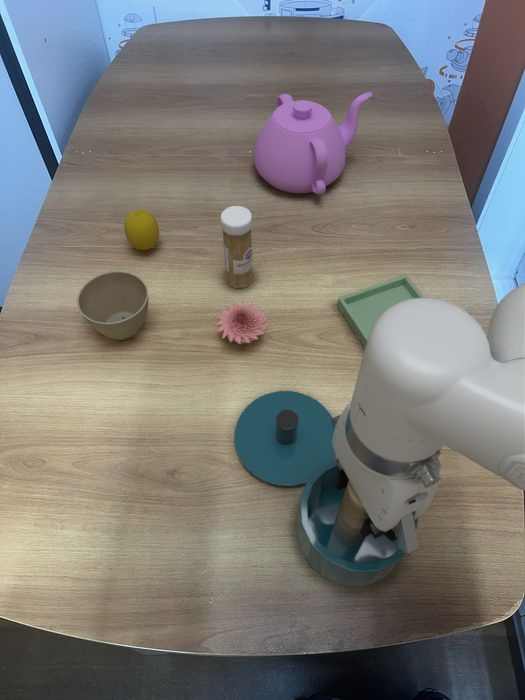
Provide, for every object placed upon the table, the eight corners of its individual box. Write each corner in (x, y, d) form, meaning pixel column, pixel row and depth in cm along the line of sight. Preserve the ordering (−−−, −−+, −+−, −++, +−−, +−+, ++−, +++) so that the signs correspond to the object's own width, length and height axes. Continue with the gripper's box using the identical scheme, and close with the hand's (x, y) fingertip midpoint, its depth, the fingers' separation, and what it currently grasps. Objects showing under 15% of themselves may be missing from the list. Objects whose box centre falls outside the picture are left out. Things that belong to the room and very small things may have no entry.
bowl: (139, 360, 79) (129, 331, 73) (78, 344, 81) (63, 314, 75) (166, 309, 85) (158, 278, 79) (108, 295, 86) (96, 264, 80)
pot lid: (355, 464, 70) (362, 445, 65) (258, 505, 67) (258, 488, 62) (309, 381, 77) (312, 359, 72) (220, 415, 74) (217, 394, 69)
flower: (272, 354, 80) (273, 331, 75) (218, 361, 79) (215, 339, 74) (264, 313, 84) (264, 289, 79) (213, 319, 83) (210, 295, 79)
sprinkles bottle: (247, 292, 86) (245, 229, 75) (221, 285, 87) (215, 221, 76) (257, 272, 89) (256, 208, 78) (231, 265, 90) (227, 201, 79)
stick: (373, 538, 64) (397, 497, 52) (343, 552, 63) (360, 513, 51) (356, 507, 66) (376, 461, 54) (327, 520, 65) (341, 476, 54)
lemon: (152, 263, 90) (144, 226, 84) (124, 254, 91) (113, 218, 85) (168, 241, 93) (160, 204, 87) (140, 233, 94) (130, 196, 88)
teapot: (386, 191, 101) (401, 123, 89) (277, 219, 96) (279, 151, 85) (337, 127, 112) (345, 59, 101) (238, 148, 108) (235, 81, 97)
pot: (423, 559, 63) (440, 541, 57) (326, 605, 60) (333, 592, 54) (369, 465, 70) (379, 440, 63) (280, 503, 67) (281, 481, 61)
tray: (458, 353, 80) (462, 345, 78) (386, 381, 77) (389, 374, 75) (403, 282, 88) (406, 274, 86) (336, 306, 85) (338, 297, 83)
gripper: (501, 506, 39) (435, 567, 54) (380, 332, 48) (353, 426, 63) (411, 549, 37) (369, 600, 52) (304, 360, 46) (294, 450, 61)
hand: (360, 504), depth 57 cm, fingers open, 4 cm apart
